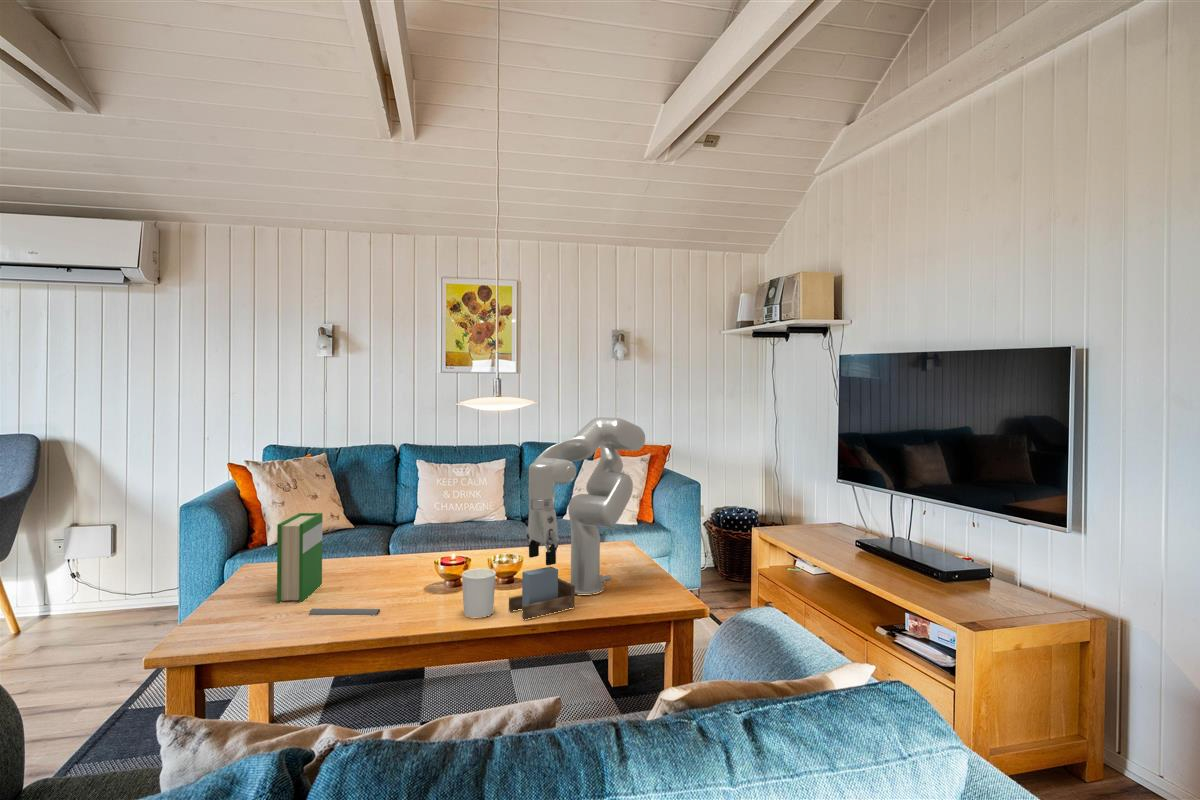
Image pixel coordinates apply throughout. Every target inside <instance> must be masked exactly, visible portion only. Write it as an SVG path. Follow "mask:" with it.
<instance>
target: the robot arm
mask: <svg viewBox="0 0 1200 800" xmlns="http://www.w3.org/2000/svg"><path fill="white" fill-rule="evenodd" d="M645 443H646V435H645V432H644V429H642V428H641V426H638V425H636V424H634V423H633V422H629V420H625V419H624V418H619V417H603V416H602V417H595V418H593V419H590V421H588V423H586V425H584V426H583V427H582V428H581V429H580V430H579V431H578V432H577V433H576V434H575V435H573V437H570V438H568V439H565V440H562V441H561V442H557V443H555V444H554V445H551V446H549V447H548V448H546V449H545V450H543V451H542V453H540V454H539V455H538V456H537V457H536V458H535V460H534V461H533V462H532V463H531V464H530V465H529V467H528V509H529V510H528V520H527V521H528V525H527V527H525V531H526V538H527V543H528V557H529V558H535V557H539V556H540V553H539V551H540V550H539V549H540V547H539V545H540V544H543V545H544V547H545V550H546V551H545V565H546V567H549V566H552V565H556V564H557V551H558V547H559V543H560V537H559V534H558V531H559V530H558V520H557V514H556V513H557V512H556V510H555V486H556V485H568V484H570V483H572V482H573V481H574V480H575V479H576V476H577V467H576V465H575V463H574V462H579V461H583V460H586V459H589V458H590V457H592V456H593V455H594V453H596V452H597V451H598V450H599V449H600V459H599V461H598V463H597V465H596V467H595V469H594V470H593V471H592V474H591V475H590V476H589V478H588V480H587V482H586V488H585V489H586V492H587V493H579V494H577V495H576V494H575V495H574V496H572V498H571V499H570V501H569V503H568V508H567V509H568V517H569V522H570V533H571V534H570V582H569V583H570V584H572V585H574V586H575V594H593V593H597V592H600V591H602V590H603V589H604V590H605V586H604V585H603V584H604V582H609V581H612V576H611V575H610V574H607V575H606V574H605V575H604V574H600V573H601V572H600V570H601V569H600V568H601V567H600V565H601V563H600V562H601V557H600V556H601V555H600V554H601V536H600V531H599V529H598V527H605V528H610V527H614V526H615V525H616V524H617V523H618V522H619V519H620V518H621V517H622V515H623V513H624V510H625V509H626V507H627V505H628V503H629V501H630V499H631V498H632V494H633V491H634V489H633V488H634V483H633V480H632V477H631V476H630V475H629V474H627V473H624V472H622V471H623V468H624V463H623V460H622V458H621V456H620V454H619V450H620V451H632V452H637V451H639V450H641V449H642V448H643V447H644V445H645Z"/></svg>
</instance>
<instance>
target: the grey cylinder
mask: <svg viewBox="0 0 1200 800" xmlns="http://www.w3.org/2000/svg"><path fill="white" fill-rule="evenodd" d="M461 577H462V578H461V580H462V601H463V603H462V604H463V615H464V616H465V615H466V616H468V617H484V616H488V615H490V614H492V615H493V613H494V603H495V588H496V587H495V586H496V577H497V573H496V570H494V569H492V568H487V567H486V568H483V567H482V568H481V567H480V568H478V567H476V568H471V569H467V570H464V571H463V572H462V573H461ZM466 616H465V617H466ZM490 616H491V615H490ZM468 617H467V618H468ZM488 617H489V616H488Z"/></svg>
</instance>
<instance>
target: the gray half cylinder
mask: <svg viewBox="0 0 1200 800" xmlns="http://www.w3.org/2000/svg"><path fill="white" fill-rule="evenodd" d="M379 611H380V612H381V609H380V608H311V609H310V610H309V616H310V615H376V616H377V615H378V614H379V613H380V612H379ZM378 612H379V613H378ZM377 613H378V614H377Z"/></svg>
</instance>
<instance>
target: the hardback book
mask: <svg viewBox="0 0 1200 800" xmlns="http://www.w3.org/2000/svg"><path fill="white" fill-rule="evenodd" d="M276 526H277V528H276V529H277V531H276V532H277V536H276V537H277V538H276V539H277V541H276V545H277V546H276V548H277V549H276V550H277V551H276V552H277V553H276V557H277V558H276V604H281V603H282V602H284V601H299V602H303V601H304V600H305V599H306V600H307V599H308V598H309V597H311V595H313V594H314V593H315V592H316V591H317V590H318V589H319V588H320V587H321V586H322V585H323V512H299V513H297V514H295V515H293V516H291V517H289V518H287V519H285V520H284V521H282V522H279V523H278V524H276ZM321 584H322V585H321ZM320 585H321V586H320ZM318 587H319V588H318ZM317 588H318V589H317ZM316 589H317V590H316ZM315 590H316V591H315ZM314 591H315V592H314ZM313 592H314V593H313ZM312 593H313V594H312ZM308 596H309V597H308ZM306 600H305V601H306ZM281 601H282V602H281ZM305 601H304V602H305ZM280 602H281V603H280ZM304 602H303V603H304Z"/></svg>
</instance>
